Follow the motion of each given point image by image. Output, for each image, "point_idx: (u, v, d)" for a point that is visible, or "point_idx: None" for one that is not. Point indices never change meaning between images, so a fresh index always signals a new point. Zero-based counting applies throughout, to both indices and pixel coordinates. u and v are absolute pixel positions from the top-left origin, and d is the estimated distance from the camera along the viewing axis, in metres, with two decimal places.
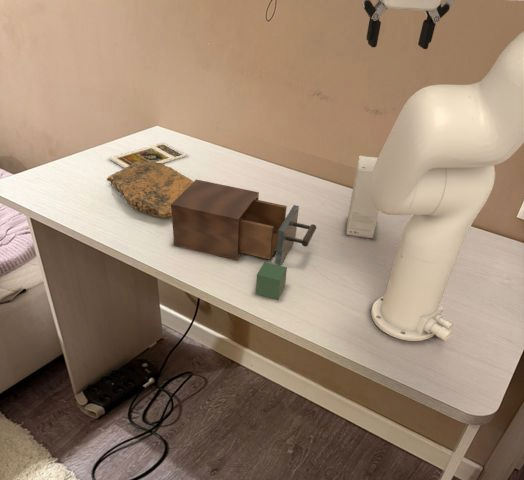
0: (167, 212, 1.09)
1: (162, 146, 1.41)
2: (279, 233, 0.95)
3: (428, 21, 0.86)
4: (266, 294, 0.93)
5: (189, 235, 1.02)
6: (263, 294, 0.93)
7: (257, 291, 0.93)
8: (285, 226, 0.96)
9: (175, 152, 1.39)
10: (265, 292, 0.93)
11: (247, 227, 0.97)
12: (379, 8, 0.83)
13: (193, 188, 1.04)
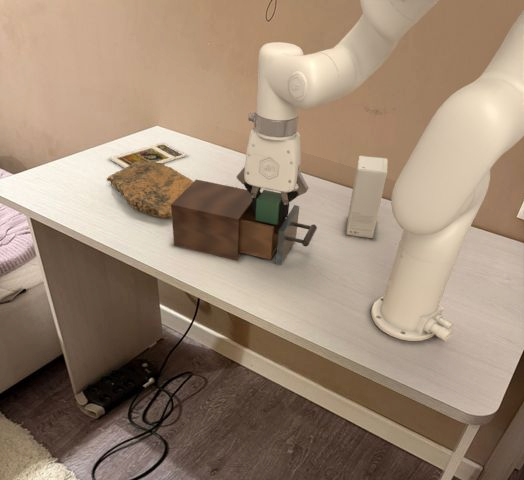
0: (167, 212, 1.09)
1: (162, 146, 1.41)
2: (279, 233, 0.95)
3: (282, 201, 0.97)
4: (265, 220, 0.98)
5: (189, 235, 1.02)
6: (262, 220, 0.98)
7: (257, 217, 0.98)
8: (286, 226, 0.96)
9: (175, 152, 1.39)
10: (265, 217, 0.98)
11: (248, 227, 0.97)
12: (252, 189, 0.96)
13: (193, 188, 1.04)
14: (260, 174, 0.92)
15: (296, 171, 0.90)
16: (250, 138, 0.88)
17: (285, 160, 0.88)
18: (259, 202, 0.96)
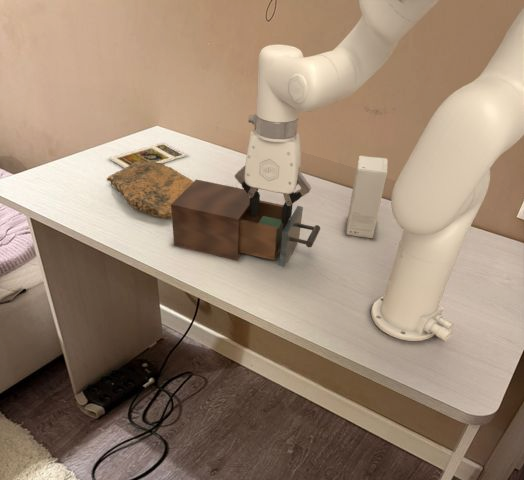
0: (167, 212, 1.09)
1: (162, 146, 1.41)
2: (283, 234, 0.95)
3: None
4: None
5: (189, 235, 1.02)
6: None
7: None
8: (289, 227, 0.96)
9: (175, 152, 1.39)
10: None
11: (251, 228, 0.97)
12: (250, 189, 0.96)
13: (193, 188, 1.04)
14: (260, 176, 0.92)
15: (296, 173, 0.90)
16: (250, 140, 0.88)
17: (285, 162, 0.89)
18: None
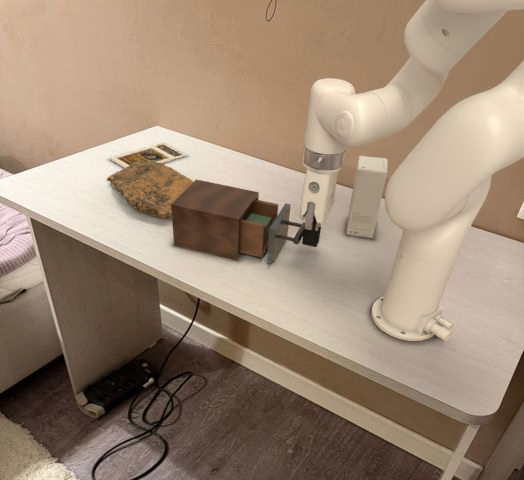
0: (167, 212, 1.09)
1: (162, 146, 1.41)
2: (270, 231, 0.96)
3: None
4: None
5: (189, 235, 1.02)
6: None
7: None
8: (276, 224, 0.96)
9: (175, 152, 1.39)
10: None
11: None
12: (318, 225, 0.96)
13: (193, 188, 1.04)
14: (328, 206, 0.93)
15: None
16: (328, 180, 0.87)
17: (336, 179, 0.94)
18: None
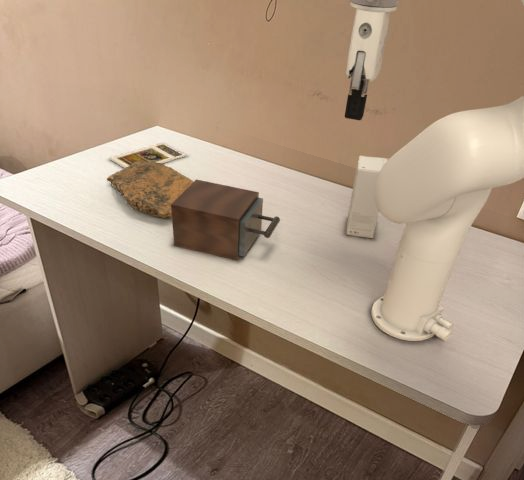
0: (167, 212, 1.09)
1: (162, 146, 1.41)
2: (240, 225, 0.97)
3: None
4: None
5: (189, 235, 1.02)
6: None
7: None
8: (247, 218, 0.98)
9: (175, 152, 1.39)
10: None
11: None
12: (365, 88, 0.84)
13: (193, 188, 1.04)
14: (379, 61, 0.81)
15: None
16: (382, 20, 0.75)
17: None
18: None
